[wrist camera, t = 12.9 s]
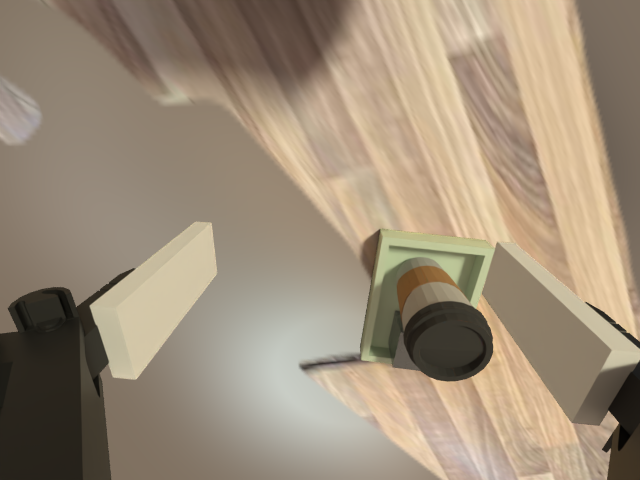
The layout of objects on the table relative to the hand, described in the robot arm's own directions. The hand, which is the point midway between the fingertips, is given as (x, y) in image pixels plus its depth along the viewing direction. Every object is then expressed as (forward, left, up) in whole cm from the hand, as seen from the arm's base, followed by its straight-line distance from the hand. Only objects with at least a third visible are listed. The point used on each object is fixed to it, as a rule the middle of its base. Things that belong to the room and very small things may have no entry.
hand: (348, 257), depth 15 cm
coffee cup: (+13, +12, -26) cm, 31 cm away
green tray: (+18, +12, -27) cm, 34 cm away
